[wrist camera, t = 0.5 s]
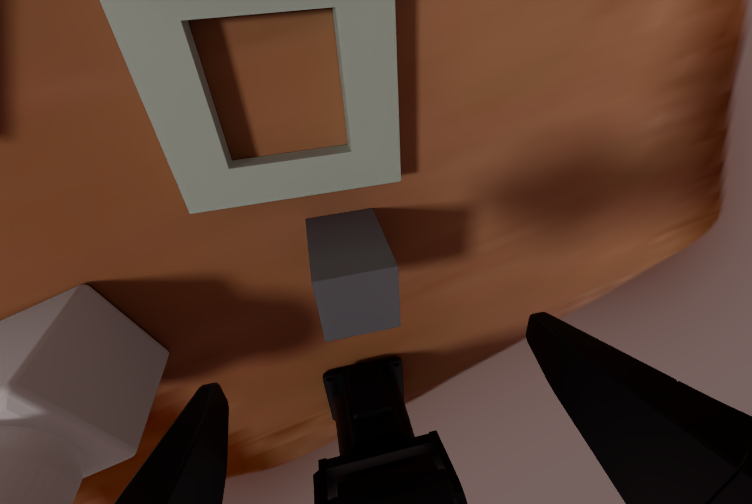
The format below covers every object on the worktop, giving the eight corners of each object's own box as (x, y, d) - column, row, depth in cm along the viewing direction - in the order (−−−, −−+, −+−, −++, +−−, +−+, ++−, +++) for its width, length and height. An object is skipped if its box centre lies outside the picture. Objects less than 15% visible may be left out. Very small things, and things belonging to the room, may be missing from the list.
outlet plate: (395, 173, 20) (405, 187, 19) (194, 203, 19) (186, 221, 17) (379, -210, 12) (393, -243, 11) (28, -207, 11) (-17, -245, 9)
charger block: (376, 261, 24) (400, 326, 19) (316, 272, 23) (325, 341, 18) (372, 207, 21) (397, 266, 16) (305, 218, 21) (311, 282, 16)
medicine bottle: (80, 391, 25) (-54, 642, 15) (-24, 329, 20) (-305, 620, 11) (173, 351, 24) (98, 579, 15) (86, 279, 20) (-100, 532, 10)
